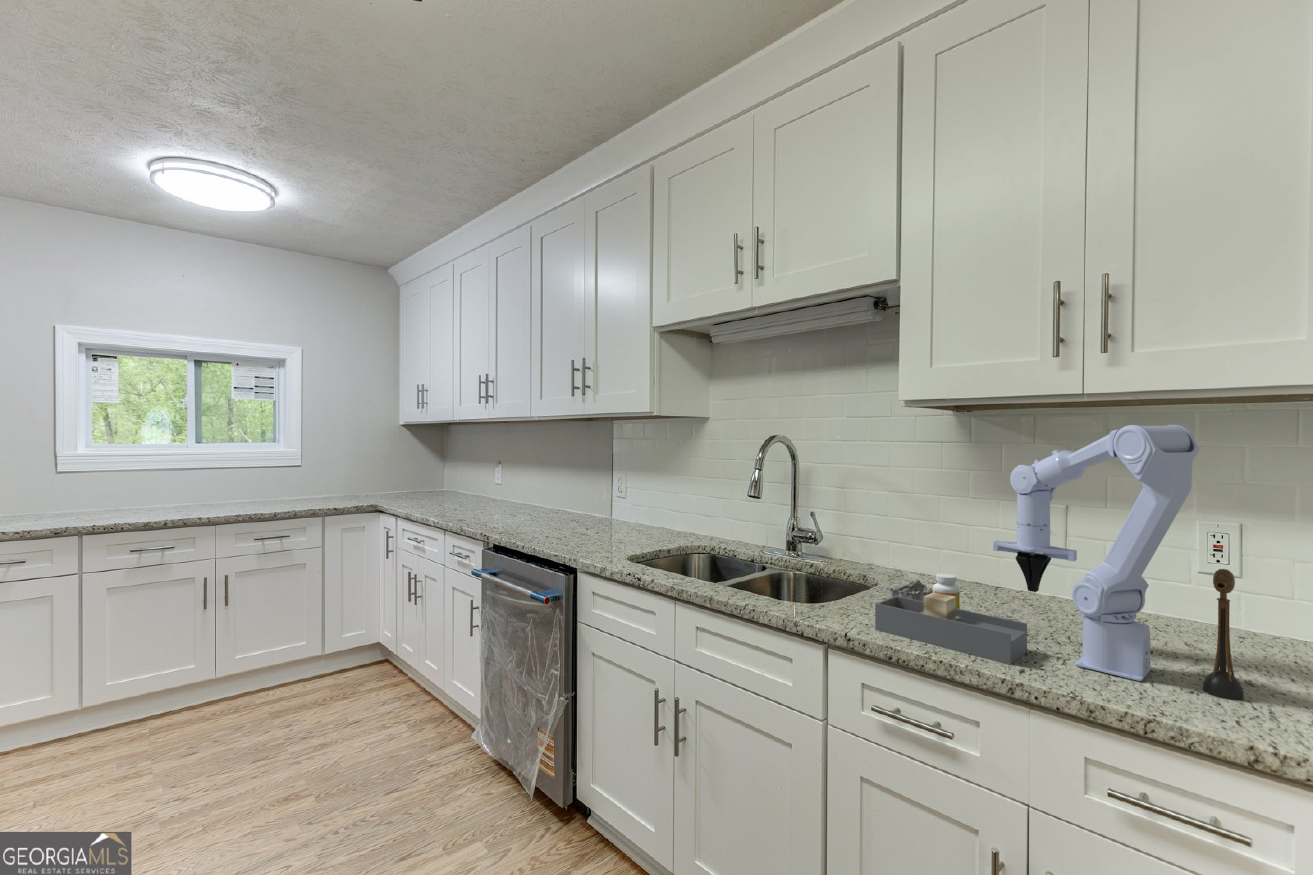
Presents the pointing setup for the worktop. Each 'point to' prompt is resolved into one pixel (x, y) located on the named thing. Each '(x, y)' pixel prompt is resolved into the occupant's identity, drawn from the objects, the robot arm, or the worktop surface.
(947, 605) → the maple block
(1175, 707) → the worktop surface
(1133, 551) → the robot arm
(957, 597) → the supplement bottle
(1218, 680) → the wooden tabletop sculpture
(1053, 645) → the worktop surface
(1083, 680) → the worktop surface
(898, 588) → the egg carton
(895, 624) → the grey drawer organizer tray
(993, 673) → the worktop surface
